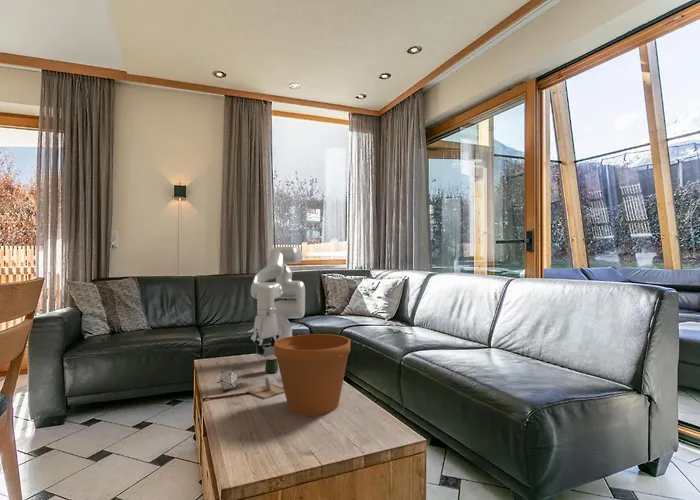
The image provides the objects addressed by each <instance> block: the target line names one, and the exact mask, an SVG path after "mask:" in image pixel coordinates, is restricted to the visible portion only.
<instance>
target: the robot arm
mask: <svg viewBox="0 0 700 500" xmlns="http://www.w3.org/2000/svg"><path fill="white" fill-rule="evenodd" d="M302 260H303V251H302V249H301V248H299V247H296V246H276V247H273V248H272V249H271V250H270V253H269V257H268V259H267V265H266V266H265V267H263V268H262V269H261V270H259V271H258V272H257V273H256V274H255V275H254V277H253V280H252V282H251V288H250V295H251V297H252V298H253V299H256V303H257V304H256V305H257V307H256V309H257V311H256V312H257V313H256V314H257V315H256V316H255V318H254V326H253V334H252V335H251V337H250V340H251V341H252V342H253V343H254V344H255V345H256V353H257V352H258V354H261V355H262V354H263V345H264V344H263V342H264V340H265V339H269V338H270V340H271V341H270V343H271V344H272V345H274V343H275V342H276V341H277V340H279V339H282V338H286V337H291V336H293V327H292V323H291V322H290V321H289V319H301V318H303V317H304V316H305V312H306V287H305V284H304V282H303V281H302V280H293V273H292V270H291V268H290V266H288V264H289V265H290V264H291V265H292V264H293V265H294V264H295V265H298V264H300V263H301V262H302ZM274 279H275V282H268V281H270V280H274ZM275 299H276V300H277V299H296V300H278V301H275ZM270 343H269V344H270ZM258 354H257V355H258ZM277 363H278V361H277Z"/></svg>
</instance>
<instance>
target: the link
mask: <svg viewBox="0 0 700 500" xmlns="http://www.w3.org/2000/svg"><path fill="white" fill-rule="evenodd" d="M262 345H263V354H262V355H261V354H258V352H257V351H256V355H259V356H260V355H261V356H260V357H263V358H264V357H266V356H270V355H273V354H274V345H272V344H270V343H265V344H262Z"/></svg>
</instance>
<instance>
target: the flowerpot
mask: <svg viewBox="0 0 700 500" xmlns="http://www.w3.org/2000/svg"><path fill="white" fill-rule="evenodd" d="M351 351H352V350H351V339H350V338H348V337H346V336H342V335H337V334H328V333H326V334H325V333H322V334H321V333H317V334H316V333H315V334H314V333H313V334H312V333H311V334H300V335H298V334H297V335H292V336H291V337H286V338H282V339H279V340H277V341H276V342H275V343H274V355H275V356H276V357H277V361H278V362H277V363H278V371H279V374H280V379H281V381H282V383H281V384H282V386H283V388H284V391H285V393H284V395H285V399H286V403H287V408H288V410H289V411H290V412H291V413H293V414H295V415H300V416H307V417H310V416H321V415H322V416H323V415H325V414H329V413H332V412H334V411H335V410H336V409H338V407H339V404H340V399H341V394H342V387H343V384H344V378H345V375H346V374H345V373H346V368H347V362H348V358H349V354H350V353H351Z"/></svg>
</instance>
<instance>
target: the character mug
mask: <svg viewBox="0 0 700 500" xmlns="http://www.w3.org/2000/svg"><path fill="white" fill-rule="evenodd" d="M269 344H271V343H269ZM259 356H260V357H262V356H261V355H259ZM263 358H264V359H265V361H266V362H265V368H264V371H265V372H266V373H276V372H279V366H278V362H277V357H276V356H275V355H274V354H273V355H270V356H266V357H264V356H263Z"/></svg>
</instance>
